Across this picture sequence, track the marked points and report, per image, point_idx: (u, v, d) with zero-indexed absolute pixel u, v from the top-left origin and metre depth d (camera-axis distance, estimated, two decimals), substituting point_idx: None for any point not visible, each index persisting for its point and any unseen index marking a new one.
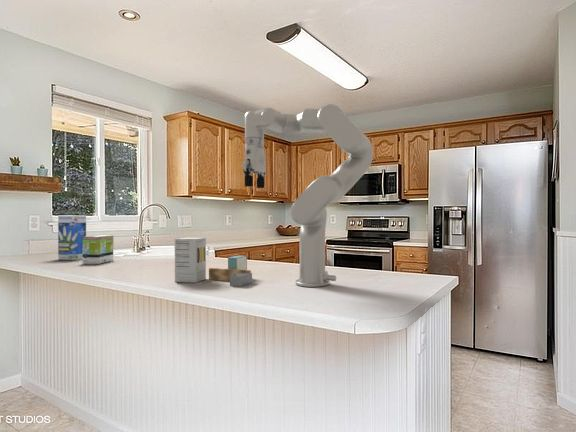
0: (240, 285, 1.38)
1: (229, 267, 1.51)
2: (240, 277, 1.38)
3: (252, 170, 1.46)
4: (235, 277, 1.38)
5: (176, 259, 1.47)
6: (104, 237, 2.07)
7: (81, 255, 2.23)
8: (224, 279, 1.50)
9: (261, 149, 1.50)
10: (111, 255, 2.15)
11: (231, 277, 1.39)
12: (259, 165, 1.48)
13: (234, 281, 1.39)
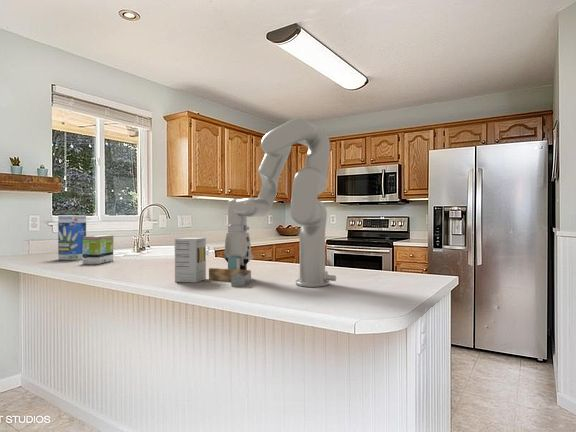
0: (243, 285, 1.38)
1: (229, 267, 1.51)
2: (243, 277, 1.38)
3: None
4: (237, 277, 1.38)
5: (176, 259, 1.47)
6: (104, 237, 2.07)
7: (81, 255, 2.23)
8: (224, 279, 1.50)
9: None
10: (111, 255, 2.15)
11: (233, 277, 1.38)
12: None
13: (236, 281, 1.38)
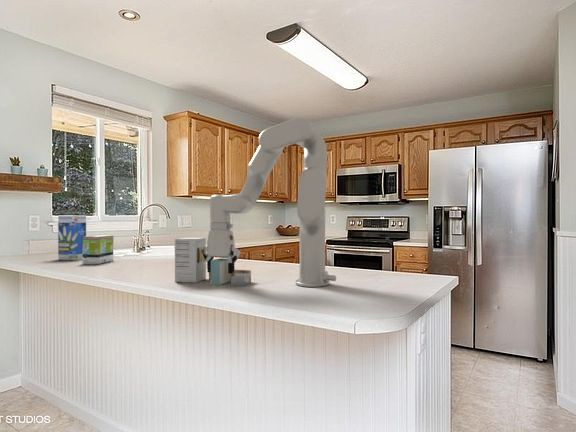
0: (243, 285, 1.38)
1: (212, 270, 1.43)
2: (243, 277, 1.38)
3: None
4: (237, 277, 1.38)
5: (176, 259, 1.47)
6: (104, 237, 2.07)
7: (81, 255, 2.23)
8: None
9: None
10: (111, 255, 2.15)
11: (233, 277, 1.38)
12: None
13: (236, 281, 1.38)
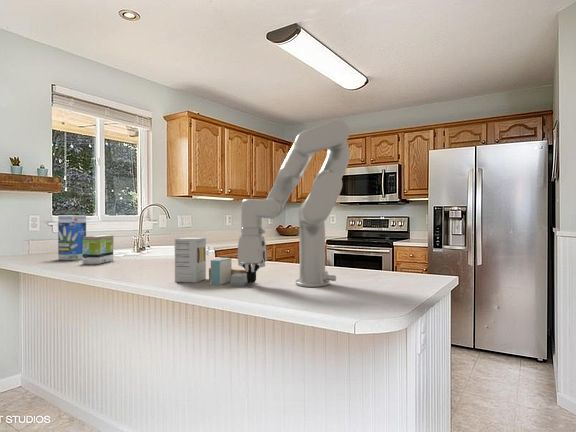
0: (242, 285, 1.38)
1: (212, 270, 1.43)
2: (242, 277, 1.38)
3: None
4: (237, 277, 1.38)
5: (176, 259, 1.47)
6: (104, 237, 2.07)
7: (81, 255, 2.23)
8: None
9: None
10: (111, 255, 2.15)
11: (232, 277, 1.38)
12: None
13: (235, 281, 1.38)
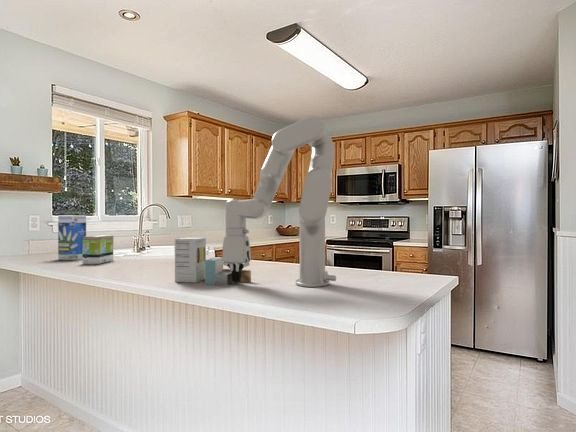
0: (225, 283, 1.40)
1: (206, 270, 1.43)
2: (225, 276, 1.40)
3: None
4: (220, 276, 1.41)
5: (176, 259, 1.47)
6: (104, 237, 2.07)
7: (81, 255, 2.23)
8: None
9: None
10: (111, 255, 2.15)
11: (216, 276, 1.41)
12: None
13: (219, 280, 1.41)
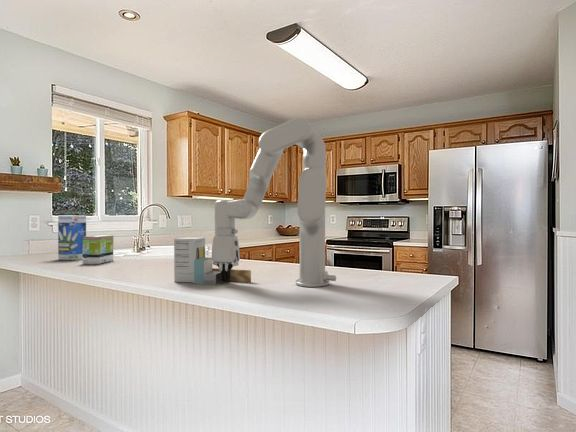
0: (214, 283, 1.42)
1: (195, 270, 1.44)
2: (214, 275, 1.42)
3: None
4: (209, 275, 1.42)
5: (176, 259, 1.48)
6: (104, 237, 2.07)
7: (81, 255, 2.23)
8: None
9: None
10: (111, 255, 2.15)
11: (205, 275, 1.42)
12: None
13: (208, 279, 1.42)
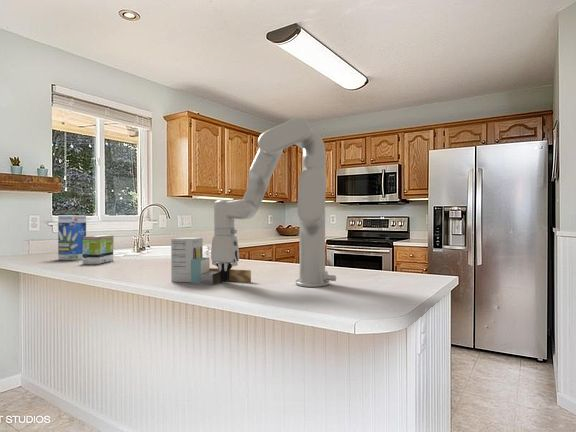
0: (211, 283, 1.42)
1: (192, 270, 1.44)
2: (211, 275, 1.42)
3: None
4: (206, 275, 1.43)
5: (173, 259, 1.48)
6: (104, 237, 2.07)
7: (81, 255, 2.23)
8: None
9: None
10: (111, 255, 2.15)
11: (201, 276, 1.43)
12: None
13: (205, 279, 1.43)
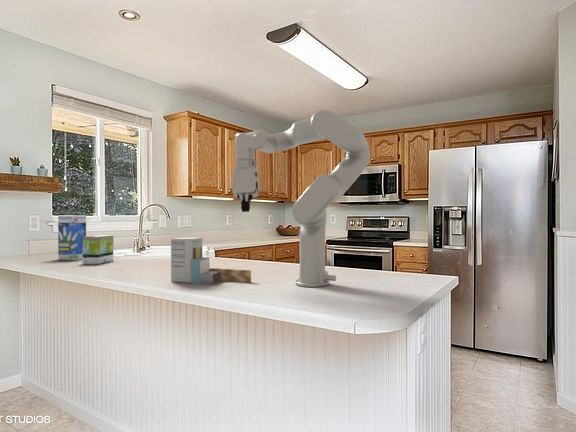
0: (211, 283, 1.42)
1: (192, 270, 1.44)
2: (211, 275, 1.42)
3: None
4: (206, 275, 1.42)
5: (172, 259, 1.48)
6: (104, 237, 2.07)
7: (81, 255, 2.23)
8: (224, 279, 1.50)
9: None
10: (111, 255, 2.15)
11: (202, 276, 1.43)
12: None
13: (205, 279, 1.43)
